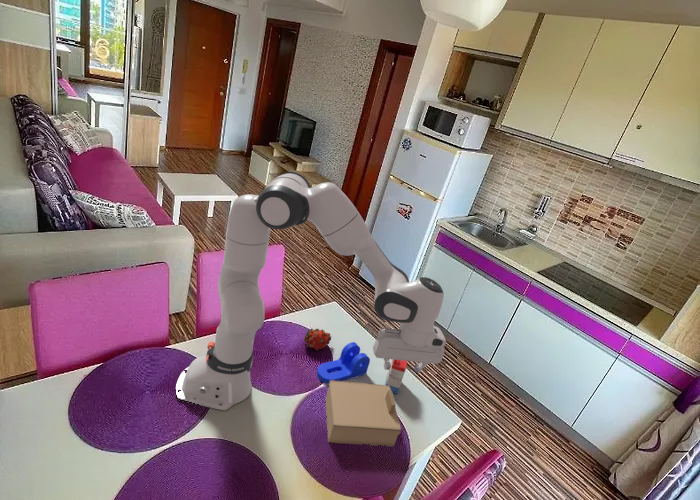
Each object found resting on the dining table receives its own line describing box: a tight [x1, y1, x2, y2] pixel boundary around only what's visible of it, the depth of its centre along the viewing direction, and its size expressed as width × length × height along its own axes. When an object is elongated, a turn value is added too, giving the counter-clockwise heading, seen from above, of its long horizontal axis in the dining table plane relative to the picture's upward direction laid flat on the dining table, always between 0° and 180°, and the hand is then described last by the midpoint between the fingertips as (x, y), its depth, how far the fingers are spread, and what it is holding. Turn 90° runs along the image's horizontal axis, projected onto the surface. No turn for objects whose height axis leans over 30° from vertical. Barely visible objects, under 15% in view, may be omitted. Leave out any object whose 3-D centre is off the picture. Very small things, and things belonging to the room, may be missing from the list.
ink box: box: [384, 359, 408, 395], centre depth 142 cm, size 8×5×15 cm, turn 168°
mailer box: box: [324, 384, 399, 447], centre depth 124 cm, size 20×16×7 cm
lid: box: [328, 380, 402, 436], centre depth 122 cm, size 20×18×5 cm
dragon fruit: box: [303, 328, 332, 352], centre depth 153 cm, size 8×8×12 cm
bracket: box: [316, 341, 371, 385], centre depth 143 cm, size 18×8×9 cm, turn 124°
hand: (401, 369), depth 118 cm, fingers open, 8 cm apart
